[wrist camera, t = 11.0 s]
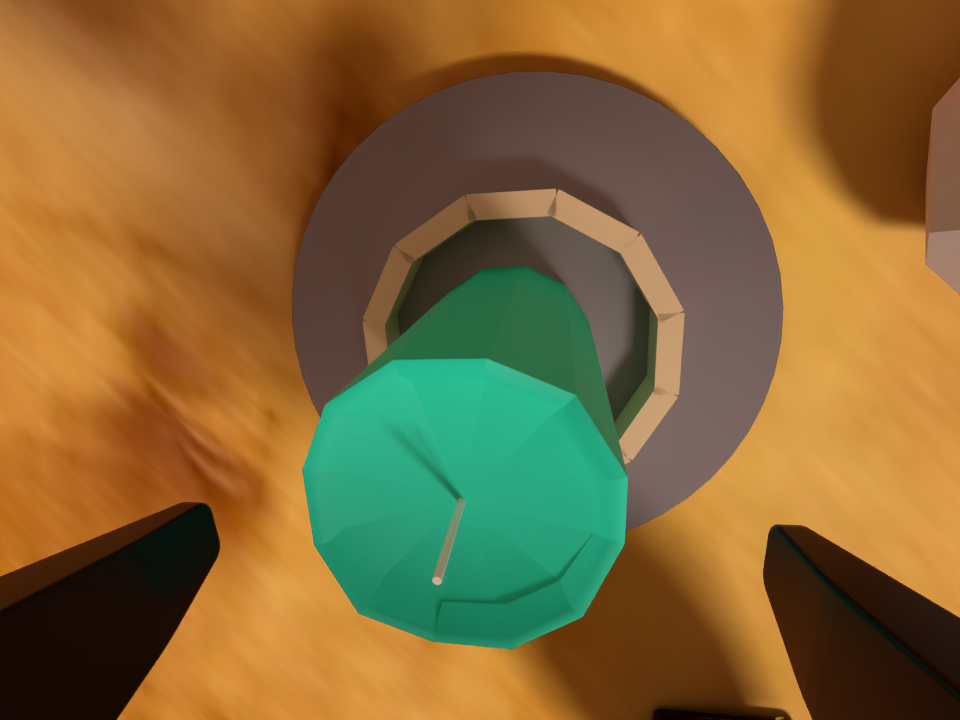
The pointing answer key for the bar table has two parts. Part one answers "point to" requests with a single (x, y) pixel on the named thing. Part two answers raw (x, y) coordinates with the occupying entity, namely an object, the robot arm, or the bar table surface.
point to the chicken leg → (944, 189)
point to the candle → (474, 469)
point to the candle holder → (559, 256)
